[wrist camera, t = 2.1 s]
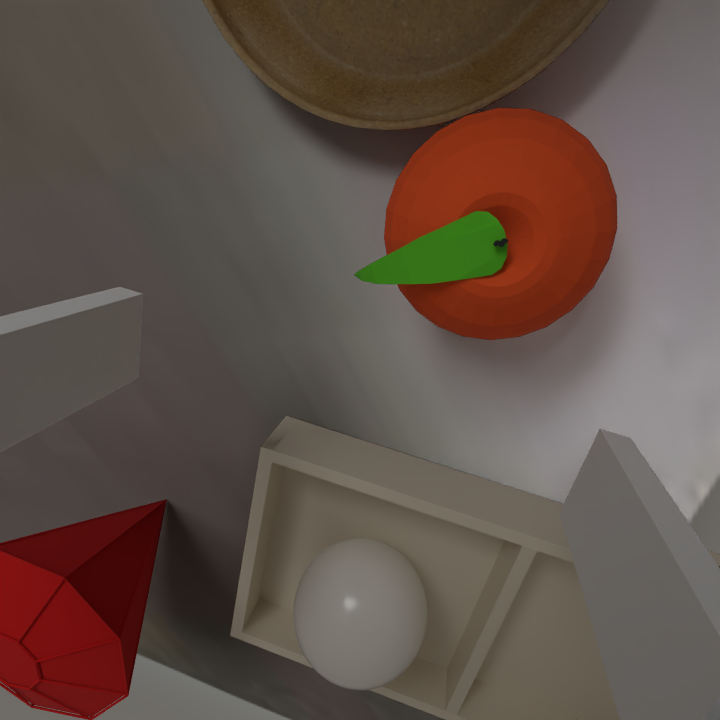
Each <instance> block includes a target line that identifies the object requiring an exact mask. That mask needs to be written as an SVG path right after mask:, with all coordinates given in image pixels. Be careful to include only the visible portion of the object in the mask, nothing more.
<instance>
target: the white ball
mask: <svg viewBox="0 0 720 720" xmlns="http://www.w3.org/2000/svg"><path fill="white" fill-rule="evenodd" d="M293 621H294V629H295V634H296V637H297V641H298V643H299V646H300V648H301V650H302V652H303V654H304V656H305V658H306V659H307V661H308V662H309V664H310V665H311V666H312V667H313V668H314V670H315V671H316V672H317V673H318V674H319V675H321V676H322V677H323V678H325V679H326V680H328V681H329V682H331V683H333V684H335V685H337V686H340V687H343V688H347V689H352V690H369V689H374V688H378V687H381V686H384V685H386V684H388V683H390V682H391V681H393V680H395V679H396V678H397V677H399V676H400V675H401V674H402V673H403V672H404V671H405V670H406V669H407V668H408V667H409V666H410V664H411V663H412V662H413V660H414V659H415V657H416V655H417V654H418V652H419V650H420V648H421V645H422V642H423V639H424V636H425V632H426V626H427V602H426V596H425V592H424V589H423V585H422V583H421V580H420V578H419V576H418V574H417V572H416V571H415V569H414V567H413V566H412V565H411V563H410V562H409V561H408V560H407V559H406V558H405V557H404V556H403V555H402V554H401V553H400V552H399V551H398V550H396V549H395V548H393V547H392V546H390V545H388V544H386V543H384V542H381V541H378V540H375V539H370V538H350V539H346V540H343V541H339V542H337V543H335V544H333V545H331V546H329V547H328V548H326V549H324V550H323V551H322V552H321V553H320V554H318V555H317V556H316V557H315V558H314V559H313V561H312V562H311V563H310V564H309V566H308V567H307V568H306V570H305V572H304V574H303V576H302V577H301V579H300V582H299V585H298V588H297V591H296V594H295V600H294V607H293Z"/></svg>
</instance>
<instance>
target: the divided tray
mask: <svg viewBox="0 0 720 720" xmlns="http://www.w3.org/2000/svg"><path fill="white" fill-rule="evenodd" d="M563 505H564V504H561V503H558V502H555V501H552V500H549V499H546V498H542V497H539V496H536V495H533V494H530V493H527V492H524V491H520V490H517V489H514V488H511V487H508V486H505V485H502V484H499V483H495V482H492V481H489V480H486V479H483V478H480V477H477V476H473V475H470V474H467V473H464V472H461V471H458V470H455V469H452V468H448V467H445V466H442V465H439V464H436V463H433V462H430V461H426V460H423V459H420V458H417V457H414V456H411V455H408V454H405V453H401V452H398V451H395V450H392V449H389V448H386V447H383V446H379V445H376V444H373V443H370V442H367V441H364V440H361V439H358V438H354V437H351V436H348V435H345V434H342V433H339V432H336V431H332V430H329V429H326V428H323V427H320V426H317V425H314V424H311V423H307V422H304V421H301V420H298V419H295V418H292V417H289V416H286V417H285V418H284V419H283V420H282V422H281V423H280V424H279V425H278V426H277V428H276V429H275V430H274V431H273V433H272V434H271V435H270V436H269V437H268V439H267V440H266V441H265V442H264V444H263V445H262V446H261V450H260V456H259V462H258V468H257V474H256V480H255V486H254V492H253V499H252V505H251V511H250V517H249V523H248V529H247V535H246V541H245V547H244V554H243V560H242V566H241V572H240V578H239V584H238V590H237V596H236V603H235V609H234V615H233V621H232V627H231V633H230V636H232V637H234V638H237V639H239V640H242V641H245V642H247V643H250V644H252V645H255V646H257V647H260V648H263V649H265V650H268V651H270V652H273V653H275V654H278V655H281V656H283V657H286V658H288V659H291V660H293V661H296V662H299V663H301V664H304V665H306V666H309V667H311V668H313V667H312V666H311V665H310V664H309V662H308V661H307V659H306V658H305V656H304V654H303V652H302V650H301V648H300V646H299V643H298V641H297V637H296V634H295V629H294V621H293V607H294V600H295V594H296V591H297V588H298V585H299V582H300V579H301V577H302V576H303V574H304V572H305V570H306V568H307V567H308V566H309V564H310V563H311V562H312V561H313V559H314V558H315V557H316V556H317V555H318V554H320V553H321V552H322V551H323V550H324V549H326V548H328V547H329V546H331V545H333V544H335V543H337V542H339V541H343V540H346V539H350V538H370V539H375V540H378V541H381V542H384V543H386V544H388V545H390V546H392V547H393V548H395V549H396V550H398V551H399V552H400V553H401V554H402V555H403V556H404V557H405V558H406V559H407V560H408V561H409V562H410V563H411V565H412V566H413V567H414V569H415V571H416V572H417V574H418V576H419V578H420V580H421V583H422V585H423V589H424V592H425V596H426V602H427V626H426V632H425V636H424V639H423V642H422V645H421V648H420V650H419V652H418V654H417V655H416V657H415V659H414V660H413V662H412V663H411V664H410V666H409V667H408V668H407V669H406V670H405V671H404V672H403V673H402V674H401V675H400V676H399V677H397V678H396V679H395V680H393V681H391V682H390V683H388V684H386V685H384V686H381V687H378V688H374V689H369V690H371V691H373V692H376V693H378V694H381V695H383V696H386V697H389V698H391V699H394V700H396V701H399V702H401V703H404V704H407V705H409V706H412V707H414V708H417V709H419V710H422V711H425V712H427V713H430V714H432V715H435V716H437V717H440V718H443V719H445V720H620V719H619V715H618V712H617V708H616V705H615V701H614V698H613V695H612V691H611V688H610V684H609V681H608V677H607V674H606V671H605V667H604V664H603V660H602V657H601V654H600V650H599V647H598V643H597V640H596V636H595V633H594V630H593V626H592V623H591V619H590V616H589V613H588V609H587V606H586V602H585V599H584V595H583V592H582V589H581V585H580V582H579V578H578V575H577V571H576V568H575V565H574V561H573V558H572V554H571V551H570V548H569V544H568V541H567V537H566V534H565V530H564V527H563V524H562V520H561V517H560V511H561V509H562V507H563ZM708 552H709V553H710V555H711V556H712V558H713V559H714V561H715V562H716V564H717V565H718V566H720V554H717V553H715V552H712V551H708Z"/></svg>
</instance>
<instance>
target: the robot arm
mask: <svg viewBox="0 0 720 720" xmlns="http://www.w3.org/2000/svg"><path fill="white" fill-rule="evenodd" d="M142 301H143V294H142V293H139V292H135V291H132V290H128V289H125V288H122V287H117V288H113V289H109V290H105V291H101V292H97V293H93V294H89V295H85V296H81V297H77V298H73V299H69V300H65V301H61V302H57V303H53V304H49V305H45V306H41V307H37V308H33V309H29V310H25V311H21V312H17V313H13V314H9V315H5V316H1V317H0V452H2V451H4V450H6V449H8V448H10V447H12V446H13V445H15V444H17V443H19V442H21V441H23V440H25V439H26V438H28V437H30V436H32V435H34V434H36V433H38V432H39V431H41V430H43V429H45V428H47V427H49V426H50V425H52V424H54V423H56V422H58V421H60V420H62V419H63V418H65V417H67V416H69V415H71V414H73V413H75V412H76V411H78V410H80V409H82V408H84V407H86V406H88V405H89V404H91V403H93V402H95V401H97V400H99V399H101V398H102V397H104V396H106V395H108V394H110V393H112V392H113V391H115V390H117V389H119V388H121V387H123V386H125V385H126V384H128V383H130V382H132V381H134V380H136V379H138V376H139V357H140V339H141V320H142ZM560 517H561V520H562V524H563V527H564V530H565V534H566V537H567V541H568V544H569V548H570V551H571V554H572V558H573V561H574V565H575V568H576V571H577V575H578V578H579V582H580V585H581V589H582V592H583V595H584V599H585V602H586V606H587V609H588V613H589V616H590V619H591V623H592V626H593V630H594V633H595V636H596V640H597V643H598V647H599V650H600V654H601V657H602V660H603V664H604V667H605V671H606V674H607V677H608V681H609V684H610V688H611V691H612V695H613V698H614V701H615V705H616V708H617V712H618V715H619V719H620V720H720V566H718V565H717V564H716V562H715V561H714V559H713V558H712V556H711V555H710V553H709V552H708V550H707V549H706V548H705V546H704V545H703V543H702V542H701V540H700V539H699V537H698V536H697V534H696V533H695V532H694V530H693V529H692V527H691V526H690V524H689V523H688V521H687V520H686V518H685V517H684V515H683V514H682V512H681V511H680V510H679V508H678V507H677V505H676V504H675V502H674V501H673V499H672V498H671V496H670V495H669V493H668V492H667V491H666V489H665V488H664V486H663V485H662V483H661V482H660V480H659V479H658V477H657V476H656V474H655V473H654V472H653V470H652V469H651V467H650V466H649V464H648V463H647V461H646V460H645V458H644V457H643V455H642V454H641V453H640V451H639V450H638V448H637V447H636V445H635V444H634V442H633V441H632V439H631V438H629V437H626V436H622V435H619V434H615V433H612V432H609V431H605V430H602V429H600V430H599V432H598V434H597V436H596V438H595V440H594V442H593V445H592V447H591V449H590V451H589V453H588V455H587V457H586V459H585V461H584V463H583V465H582V468H581V470H580V472H579V474H578V476H577V478H576V480H575V482H574V484H573V486H572V488H571V490H570V493H569V495H568V497H567V499H566V501H565V503H564V505H563V507H562V509H561V511H560Z"/></svg>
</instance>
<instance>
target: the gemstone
mask: <svg viewBox="0 0 720 720" xmlns="http://www.w3.org/2000/svg"><path fill="white" fill-rule="evenodd" d="M166 501H167V499H166V500H162V501H159V502H155V503H151V504H147V505H143V506H140V507H136V508H132V509H128V510H124V511H121V512H117V513H113V514H109V515H105V516H102V517H98V518H94V519H90V520H86V521H83V522H79V523H75V524H71V525H67V526H64V527H60V528H56V529H52V530H48V531H45V532H41V533H37V534H33V535H29V536H26V537H22V538H18V539H14V540H11V541H7V542H3V543H0V682H2V683H3V684H4V685H6V686H7V687H9V688H10V689H12V690H13V691H14V692H15V693H14V692H13V691H11V690H10V689H9V688H7V687H6V686H4V685H3V684H1V683H0V686H2V687H3V688H5V689H6V690H7V691H9V692H10V693H12V694H13V695H14V696H16V697H17V698H19V699H20V700H21V701H23V702H24V703H26V704H27V705H29V706H30V707H31V708H36V709H40V710H45V711H50V712H55V713H59V714H64V715H69V716H73V717H78V718H83V719H88V720H92V719H94V718H96V717H97V716H99V715H100V714H102V713H103V712H105V711H106V710H107V709H109V708H111V707H112V706H113V705H115V704H117V703H118V702H120V701H121V700H123V699H124V698H126V697H127V696H128V695H129V689H130V684H131V679H132V674H133V669H134V664H135V659H136V654H137V649H138V644H139V638H140V633H141V628H142V623H143V618H144V613H145V608H146V603H147V598H148V593H149V587H150V582H151V577H152V572H153V567H154V562H155V557H156V552H157V547H158V541H159V536H160V531H161V526H162V521H163V516H164V511H165V507H164V506H166ZM123 695H125V696H123ZM122 696H123V697H122ZM120 697H122V698H120ZM119 698H120V699H119ZM117 699H119V700H117ZM116 700H117V701H116ZM114 701H116V702H114ZM29 702H30V703H31V704H32V705H31V704H30V703H29ZM113 702H114V703H113ZM111 703H113V704H111ZM110 704H111V705H110ZM34 705H37V706H42V707H46V708H42V707H37V706H34ZM108 705H110V706H108ZM107 706H108V707H107ZM105 707H107V708H105ZM47 708H51V709H47ZM104 708H105V709H104ZM52 709H56V710H52ZM102 709H104V710H102ZM57 710H61V711H66V712H71V713H75V714H79V715H75V714H71V713H66V712H61V711H57ZM101 710H102V711H101ZM99 711H101V712H99ZM98 712H99V713H98ZM97 713H98V714H97ZM95 714H96V715H95ZM80 715H81V716H80ZM94 715H95V716H94ZM88 716H89V717H88ZM90 717H91V718H90Z"/></svg>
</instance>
